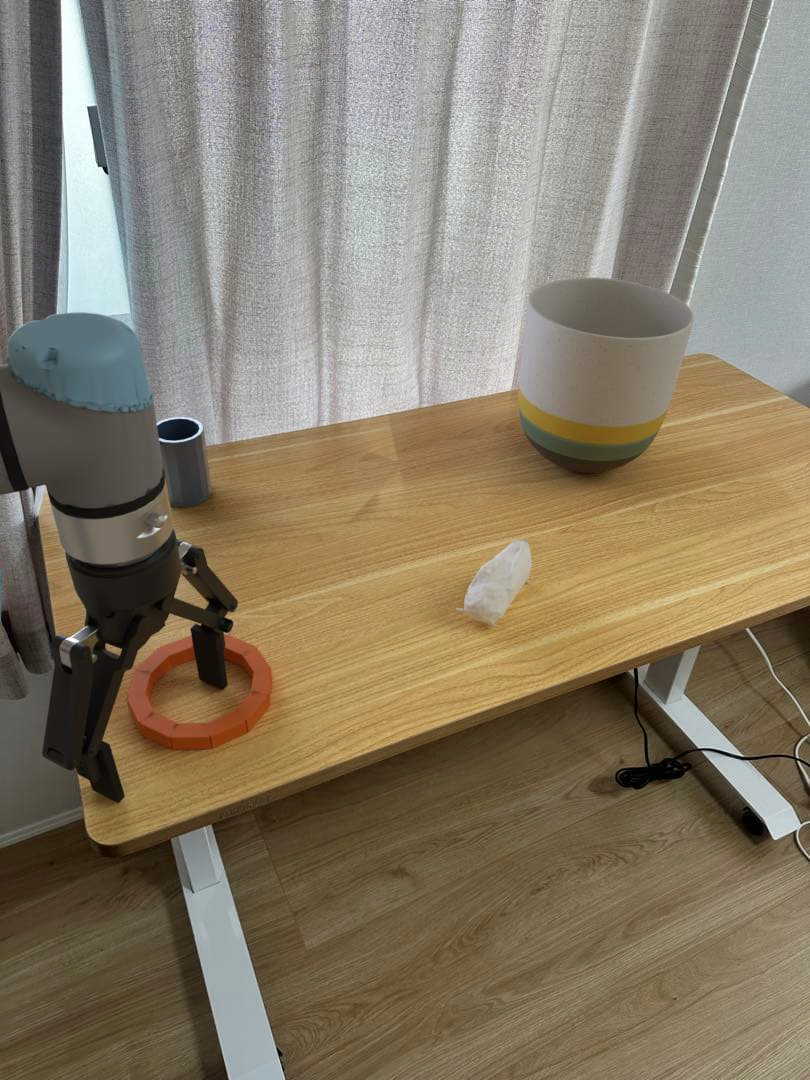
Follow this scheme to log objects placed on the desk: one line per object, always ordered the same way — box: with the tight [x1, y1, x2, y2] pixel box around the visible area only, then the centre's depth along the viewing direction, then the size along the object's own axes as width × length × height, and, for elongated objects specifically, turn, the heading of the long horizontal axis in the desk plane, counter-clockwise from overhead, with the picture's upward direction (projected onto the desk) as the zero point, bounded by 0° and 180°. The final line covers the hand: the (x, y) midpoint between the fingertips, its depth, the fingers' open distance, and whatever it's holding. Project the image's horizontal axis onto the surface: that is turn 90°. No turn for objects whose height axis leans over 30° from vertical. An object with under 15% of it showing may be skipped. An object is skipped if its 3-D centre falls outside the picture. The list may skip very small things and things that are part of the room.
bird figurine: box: [455, 538, 533, 628], centre depth 84 cm, size 5×7×10 cm
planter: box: [517, 277, 695, 474], centre depth 103 cm, size 20×20×21 cm
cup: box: [156, 416, 212, 509], centre depth 96 cm, size 6×6×9 cm
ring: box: [126, 633, 273, 751], centre depth 73 cm, size 12×12×2 cm
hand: (164, 734), depth 69 cm, fingers open, 13 cm apart
